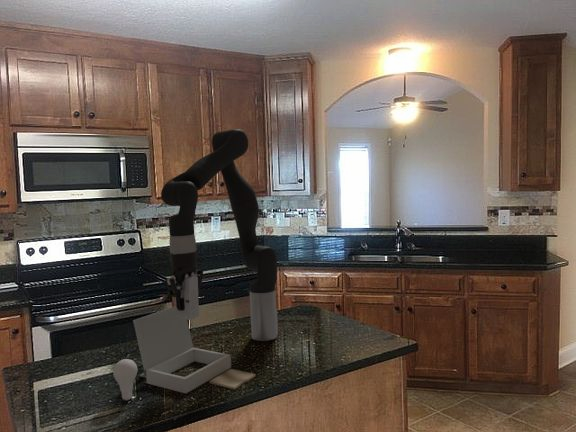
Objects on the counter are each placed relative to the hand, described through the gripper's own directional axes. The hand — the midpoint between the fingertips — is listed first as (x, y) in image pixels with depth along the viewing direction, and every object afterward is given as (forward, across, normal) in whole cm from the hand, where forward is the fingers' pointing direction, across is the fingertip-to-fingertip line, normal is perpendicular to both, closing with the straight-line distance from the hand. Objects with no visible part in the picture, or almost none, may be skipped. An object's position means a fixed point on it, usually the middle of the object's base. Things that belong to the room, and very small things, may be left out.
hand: (186, 307), depth 143 cm
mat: (+20, -3, +13) cm, 25 cm away
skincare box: (+3, 0, 0) cm, 3 cm away
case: (+20, 0, 0) cm, 20 cm away
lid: (+9, 0, -9) cm, 13 cm away
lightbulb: (+20, +20, -4) cm, 29 cm away
